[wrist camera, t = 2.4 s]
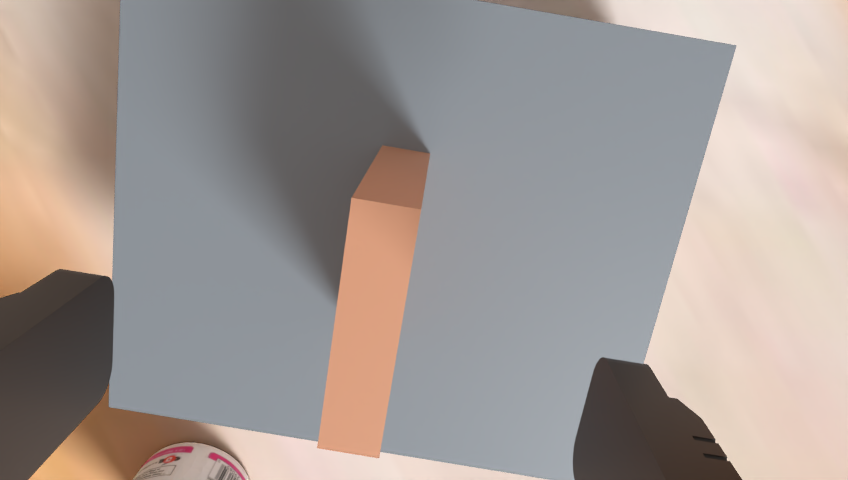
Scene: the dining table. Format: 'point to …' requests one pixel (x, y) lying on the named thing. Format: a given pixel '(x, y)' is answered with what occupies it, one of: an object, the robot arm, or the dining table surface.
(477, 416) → the lid
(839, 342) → the dining table surface
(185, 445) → the pill bottle
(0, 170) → the dining table surface
